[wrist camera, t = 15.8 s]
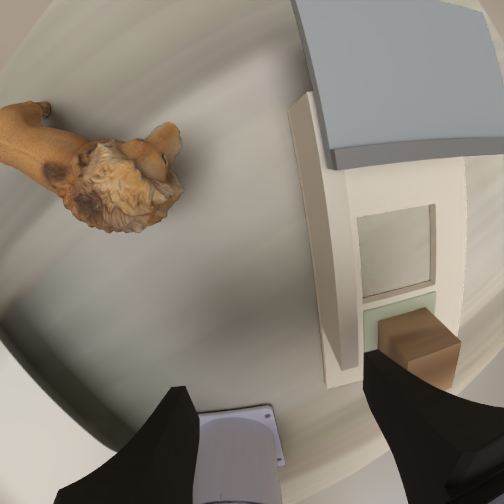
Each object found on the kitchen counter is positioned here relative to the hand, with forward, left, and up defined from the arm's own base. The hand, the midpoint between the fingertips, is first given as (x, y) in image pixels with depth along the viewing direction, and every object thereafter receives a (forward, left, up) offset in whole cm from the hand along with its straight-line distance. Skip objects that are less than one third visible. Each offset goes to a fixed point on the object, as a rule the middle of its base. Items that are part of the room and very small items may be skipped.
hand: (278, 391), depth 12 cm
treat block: (-6, -10, -8) cm, 14 cm away
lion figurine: (+11, +8, -10) cm, 17 cm away
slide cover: (+12, -9, -3) cm, 15 cm away
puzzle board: (+1, -10, -9) cm, 13 cm away
